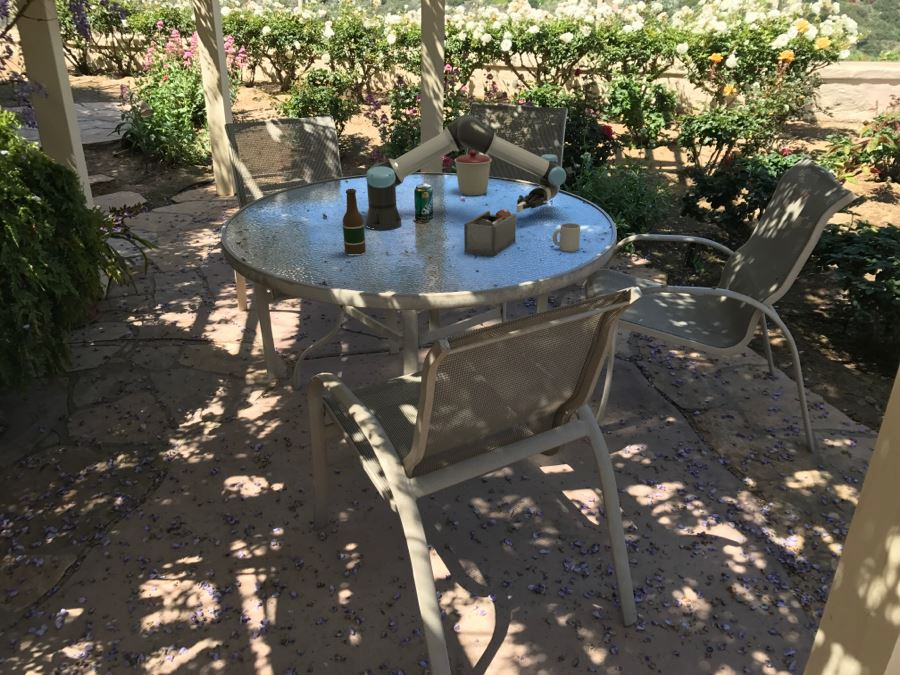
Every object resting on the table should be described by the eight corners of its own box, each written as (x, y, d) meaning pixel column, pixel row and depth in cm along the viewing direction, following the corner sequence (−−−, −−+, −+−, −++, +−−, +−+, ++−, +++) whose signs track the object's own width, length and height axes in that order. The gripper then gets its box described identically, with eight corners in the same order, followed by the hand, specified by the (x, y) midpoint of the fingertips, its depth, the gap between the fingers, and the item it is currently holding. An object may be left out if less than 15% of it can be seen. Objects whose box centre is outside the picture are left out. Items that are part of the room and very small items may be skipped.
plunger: (494, 227, 277) (494, 207, 274) (513, 229, 274) (513, 209, 270) (474, 239, 263) (474, 218, 259) (493, 242, 259) (494, 221, 256)
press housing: (487, 238, 278) (487, 210, 273) (515, 241, 272) (516, 214, 268) (464, 252, 262) (464, 223, 257) (493, 256, 256) (494, 227, 252)
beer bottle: (355, 248, 268) (351, 186, 258) (370, 252, 264) (366, 188, 254) (340, 253, 263) (335, 190, 253) (355, 257, 258) (350, 193, 248)
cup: (580, 251, 260) (581, 228, 256) (553, 252, 260) (554, 228, 257) (577, 245, 267) (578, 223, 263) (551, 246, 267) (552, 223, 263)
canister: (447, 195, 342) (446, 151, 333) (467, 187, 356) (467, 145, 347) (479, 199, 333) (479, 154, 324) (498, 191, 346) (498, 148, 337)
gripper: (553, 206, 302) (532, 219, 283) (525, 202, 308) (503, 216, 289) (554, 188, 299) (533, 201, 280) (525, 185, 304) (503, 198, 286)
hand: (518, 208), depth 284 cm, fingers closed
